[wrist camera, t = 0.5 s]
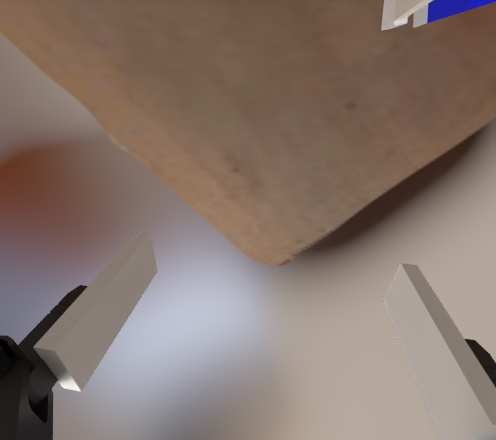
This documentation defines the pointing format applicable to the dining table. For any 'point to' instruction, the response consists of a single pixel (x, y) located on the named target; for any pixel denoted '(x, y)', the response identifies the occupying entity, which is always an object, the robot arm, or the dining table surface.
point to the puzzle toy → (444, 9)
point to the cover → (408, 8)
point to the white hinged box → (390, 16)
